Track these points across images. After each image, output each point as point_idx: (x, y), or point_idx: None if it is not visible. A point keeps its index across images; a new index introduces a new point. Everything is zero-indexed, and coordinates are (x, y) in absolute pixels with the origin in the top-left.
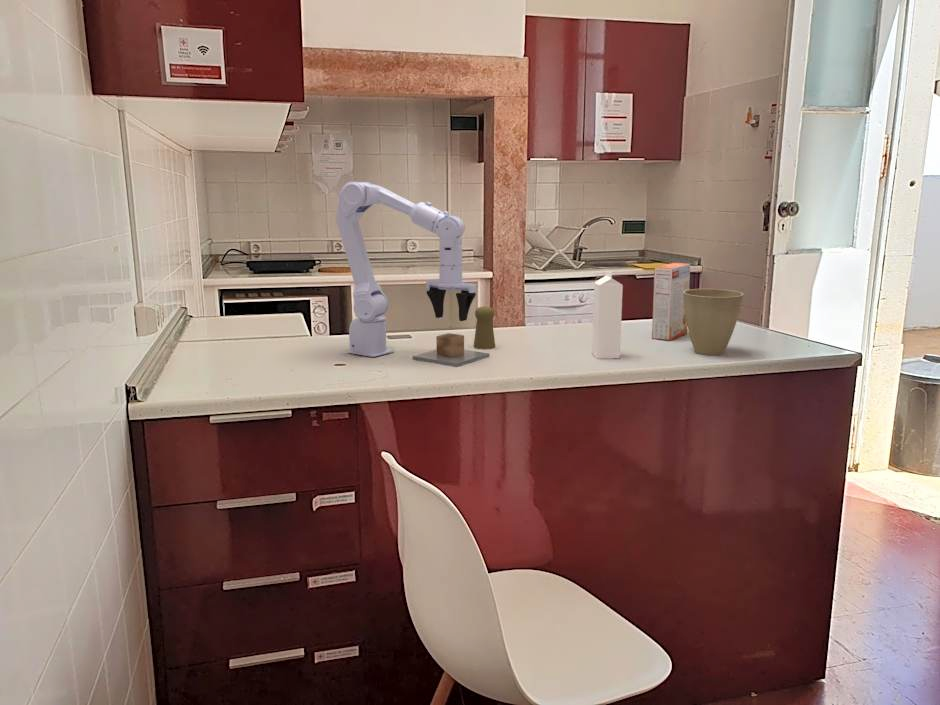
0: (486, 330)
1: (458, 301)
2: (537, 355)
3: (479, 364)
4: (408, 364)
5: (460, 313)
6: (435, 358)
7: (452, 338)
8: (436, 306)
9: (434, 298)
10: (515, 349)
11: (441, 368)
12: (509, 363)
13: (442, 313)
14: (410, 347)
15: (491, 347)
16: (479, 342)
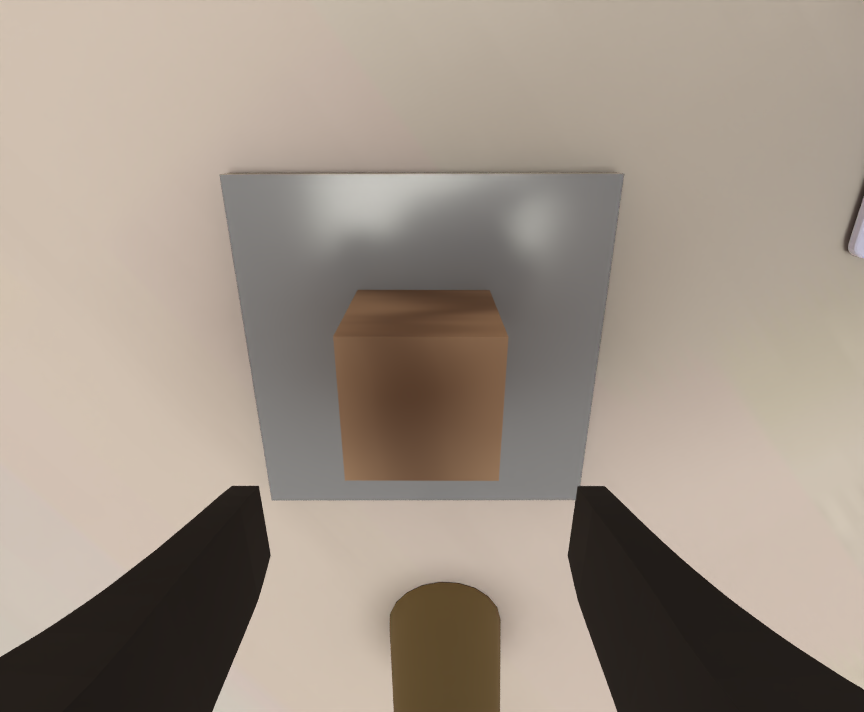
0: (407, 700)
1: (67, 686)
2: None
3: (175, 314)
4: (548, 8)
5: (188, 537)
6: (438, 211)
7: (335, 343)
8: (640, 590)
9: (721, 693)
10: (290, 651)
11: (269, 63)
12: (79, 426)
13: (579, 585)
14: (804, 425)
15: (391, 619)
16: (438, 614)
